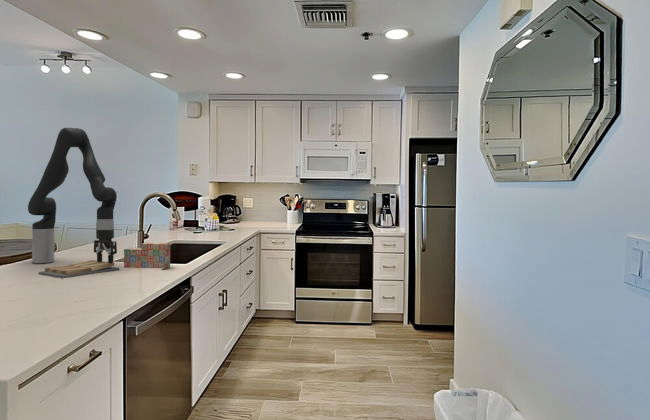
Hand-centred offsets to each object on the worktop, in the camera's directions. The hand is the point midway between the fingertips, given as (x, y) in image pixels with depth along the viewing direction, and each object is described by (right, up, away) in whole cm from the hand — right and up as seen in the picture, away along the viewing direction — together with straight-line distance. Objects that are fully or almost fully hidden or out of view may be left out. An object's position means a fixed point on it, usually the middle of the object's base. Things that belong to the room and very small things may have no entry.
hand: (105, 262), depth 193 cm
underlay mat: (-8, -4, -6) cm, 11 cm away
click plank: (-6, -2, -2) cm, 6 cm away
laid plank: (-11, -4, -11) cm, 16 cm away
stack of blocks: (+16, -4, +10) cm, 19 cm away
